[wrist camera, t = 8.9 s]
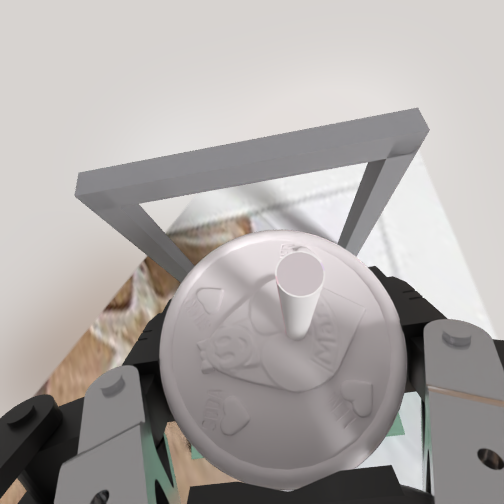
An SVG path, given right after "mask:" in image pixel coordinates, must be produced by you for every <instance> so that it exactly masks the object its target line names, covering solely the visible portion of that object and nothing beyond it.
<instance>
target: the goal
mask: <svg viewBox="0 0 504 504" xmlns="http://www.w3.org/2000/svg"><path fill="white" fill-rule="evenodd" d="M429 130H430V129H429V128H428V126H427V124H426V122H425V120H424V118H423V116H422V115H421V113H420V111H419V109H418V108H414V109H409V110H403V111H398V112H393V113H388V114H382V115H377V116H372V117H367V118H362V119H356V120H351V121H346V122H341V123H336V124H330V125H325V126H320V127H315V128H309V129H304V130H300V131H294V132H289V133H283V134H278V135H273V136H268V137H263V138H257V139H252V140H248V141H242V142H237V143H231V144H226V145H221V146H216V147H211V148H205V149H200V150H195V151H190V152H184V153H179V154H174V155H169V156H164V157H158V158H153V159H148V160H143V161H138V162H132V163H127V164H122V165H117V166H112V167H106V168H101V169H96V170H91V171H86V172H80V173H79V174H78V179H77V186H76V191H75V197H76V198H78V199H79V200H80V201H81V202H82V203H84V204H85V205H86V206H87V207H89V208H90V209H91V210H92V211H94V212H95V213H96V214H97V215H98V216H100V217H101V218H102V219H103V220H105V221H106V222H107V223H108V224H110V225H111V226H112V227H113V228H114V229H116V230H117V231H118V232H119V233H121V234H122V235H123V236H124V237H126V238H127V239H128V240H129V241H131V242H132V243H133V244H134V245H135V246H137V247H138V248H139V249H140V250H141V251H143V252H144V253H145V254H146V255H148V256H149V257H150V258H151V259H152V260H154V261H155V262H156V263H157V264H159V265H160V266H161V267H162V268H164V269H165V270H166V271H167V272H168V273H170V274H171V275H172V276H173V277H175V278H176V279H177V280H178V281H180V282H181V283H182V281H183V280H184V278H185V277H186V276H187V274H188V273H189V272H190V271H191V270H192V269H193V268H194V265H193V264H192V263H191V261H190V260H189V259H188V258H187V257H186V256H185V255H184V254H183V253H182V252H181V250H180V249H179V248H178V247H177V246H176V245H175V244H174V243H173V242H172V240H171V239H170V238H169V237H168V236H167V235H166V234H165V233H164V232H163V231H162V229H160V227H159V226H158V225H157V224H156V223H155V222H154V221H153V219H152V218H151V217H150V216H149V215H148V214H147V213H146V212H145V211H144V210H143V208H142V207H141V206H140V205H139V203H144V202H150V201H156V200H162V199H167V198H173V197H178V196H184V195H189V194H195V193H200V192H206V191H211V190H217V189H222V188H228V187H233V186H239V185H244V184H250V183H255V182H261V181H266V180H272V179H277V178H283V177H288V176H294V175H299V174H305V173H310V172H316V171H321V170H327V169H332V168H338V167H343V166H349V165H355V164H360V163H366V162H368V164H367V167H366V170H365V172H364V175H363V178H362V180H361V183H360V186H359V188H358V191H357V193H356V196H355V199H354V201H353V204H352V207H351V209H350V212H349V215H348V217H347V220H346V223H345V225H344V228H343V231H342V233H341V236H340V239H339V241H338V244H337V245H339V246H341V247H343V248H344V249H346V250H347V251H349V252H350V253H352V254H353V255H354V256H357V254H358V253H359V251H360V249H361V248H362V246H363V244H364V242H365V241H366V239H367V237H368V235H369V234H370V232H371V230H372V229H373V227H374V225H375V223H376V222H377V220H378V218H379V217H380V215H381V213H382V211H383V210H384V208H385V206H386V204H387V203H388V201H389V199H390V198H391V196H392V194H393V192H394V191H395V189H396V187H397V186H398V184H399V182H400V180H401V179H402V177H403V175H404V173H405V172H406V170H407V168H408V167H409V165H410V163H411V161H412V160H413V158H414V156H415V155H416V153H417V151H418V149H419V148H420V146H421V144H422V142H423V141H424V139H425V137H426V135H427V133H428V132H429ZM404 434H405V433H404V429H403V426H402V423H401V419H400V416H399V413H398V414H397V416H396V419H395V421H394V423H393V425H392V427H391V429H390V430H389V432H388V434H387V435H386V437H387V436H395V435H404ZM191 451H192V459H198V458H204V457H203V456H202V455H201V454H199V452H198V451H197V450H196V449H195V448H194V447H193V446H192V445H191Z"/></svg>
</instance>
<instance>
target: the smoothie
mask: <svg viewBox="0 0 504 504" xmlns="http://www.w3.org/2000/svg"><path fill="white" fill-rule="evenodd" d="M399 320H400V319H399V316H398V313H397V311H396V308H395V306H394V304H393V302H392V300H391V298H390V296H389V295H388V293H387V291H386V290H385V288H384V287H383V285H382V284H381V282H380V281H379V280H378V278H377V277H376V276H375V275H374V274H373V272H372V271H371V270H370V269H369V268H368V267H367V266H366V265H365V264H364V263H363V262H362V261H360V260H359V259H358V258H357V257H356V256H354V255H353V254H352V253H350V252H349V251H347V250H346V249H344V248H343V247H341V246H339V245H337V244H336V243H333V242H331V241H329V240H327V239H325V238H322V237H319V236H317V235H313V234H309V233H305V232H300V231H293V230H266V231H259V232H254V233H250V234H246V235H243V236H241V237H238V238H235V239H233V240H231V241H228V242H226V243H225V244H223V245H221V246H219V247H218V248H216V249H215V250H213V251H212V252H210V253H209V254H208V255H207V256H205V257H204V258H203V259H202V260H201V261H200V262H199V263H197V264H196V265H195V266H194V268H193V269H192V270H191V271H190V272H189V273H188V274H187V276H186V277H185V278H184V280H183V281H182V283H181V284H180V286H179V287H178V289H177V291H176V292H175V294H174V296H173V298H172V300H171V303H170V305H169V308H168V310H167V313H166V316H165V320H164V323H163V328H162V333H161V340H160V354H159V361H160V373H161V380H162V385H163V389H164V393H165V397H166V400H167V403H168V405H169V408H170V410H171V413H172V415H173V417H174V419H175V421H176V423H177V424H178V426H179V428H180V430H181V431H182V433H183V434H184V435H185V437H186V438H187V440H188V441H189V442H190V444H191V445H192V446H193V447H194V448H195V449H196V450H197V451H198V452H199V454H201V455H202V456H203V457H204V458H205V459H206V460H207V461H208V462H209V463H211V464H212V465H214V466H215V467H216V468H218V469H219V470H220V471H222V472H224V473H226V474H227V475H229V476H231V477H233V478H235V479H237V480H240V481H242V482H244V483H247V484H251V485H256V486H261V487H266V488H271V489H275V490H296V489H299V488H301V487H303V486H306V485H308V484H310V483H313V482H315V481H317V480H319V479H322V478H324V477H326V476H329V475H331V474H333V473H336V472H338V471H341V470H351V469H355V468H356V467H358V466H359V465H360V464H361V463H363V462H364V461H365V460H366V459H367V458H368V457H369V456H370V455H371V454H372V453H373V452H374V451H375V450H376V449H377V448H378V447H379V445H380V444H381V442H382V441H383V440H384V438H385V437H386V435H387V434H388V432H389V430H390V429H391V427H392V425H393V423H394V421H395V419H396V416H397V414H398V411H399V409H400V406H401V402H402V399H403V396H404V391H405V385H406V377H407V350H406V343H405V337H404V333H403V331H402V327H401V324H400V321H399Z"/></svg>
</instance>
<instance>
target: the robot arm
mask: <svg viewBox="0 0 504 504" xmlns="http://www.w3.org/2000/svg"><path fill="white" fill-rule="evenodd" d="M368 268H369V269H370V270H371V271H372V272H373V274H374V275H375V276H376V277H377V278H378V280H379V281H380V282H381V284H382V285H383V287H384V288H385V290H386V291H387V293H388V295H389V296H390V298H391V300H392V302H393V304H394V306H395V308H396V311H397V313H398V316H399V319H400V320H399V321H400V324H401V327H402V331H403V333H404V337H405V343H406V350H407V377H406V385H405V391H404V393H407V392H415V391H417V393H418V394H419V396H420V397H421V432H422V470H423V491H422V490H418V489H415V488H412V487H409V486H404V485H400V484H399V481H398V479H397V477H396V474H395V472H394V470H393V467H392V465H388V466H378V467H369V468H360V469H351V470H341V471H338V472H336V473H333V474H331V475H329V476H326V477H324V478H322V479H319V480H317V481H315V482H313V483H310V484H308V485H306V486H303V487H301V488H299V489H296V490H294V491H289V492H286V491H280V490H275V489H271V488H266V487H261V486H256V485H251V484H246V483H242V482H230V483H220V484H211V485H202V486H192V487H190V490H189V496H188V501H187V504H504V340H494V339H492V338H491V336H490V335H489V334H488V333H487V332H485V331H484V330H483V329H481V328H479V327H477V326H475V325H473V324H470V323H467V322H464V321H460V320H453V319H447V318H446V317H445V316H444V315H443V314H442V313H441V312H439V311H438V310H437V309H436V308H435V307H434V306H433V305H432V304H430V303H429V302H428V301H427V300H426V299H425V298H422V296H421V295H420V294H419V293H418V292H417V291H415V289H414V288H412V287H411V286H410V285H409V284H408V283H407V282H405V281H403V280H400V279H398V278H396V277H393V276H392V277H386V276H385V275H384V274H383V273H382V272H381V271H380V270H379V269H378V268H377V267H376V266H372V267H368ZM171 300H172V299H170V300H169V302H168V303H167V305H166V307H165V309H164V310H163V312H162V313H159V314H157V315H156V316H155V317H154V318H153V319H152V320H150V321H149V322H148V324H147V325H146V327H145V329H144V330H143V333H142V334H141V335H140V337H139V338H138V341H137V342H136V343H135V345H134V347H133V348H132V350H131V351H130V353H129V355H128V356H127V358H126V359H125V361H124V363H123V364H122V366H120V367H116V368H114V369H112V370H109V371H108V372H106V373H104V374H103V375H101V376H100V377H99V378H97V379H96V380H95V381H94V382H93V383H92V384H91V385H90V387H89V388H88V390H87V391H86V394H85V397H83V398H80V399H77V400H75V401H72V402H69V403H67V404H64V405H62V406H59V407H58V405H57V403H56V402H55V400H54V398H53V397H52V396H51V395H39V396H35V397H33V398H30V399H28V400H26V401H24V402H22V403H20V404H19V405H17V406H15V407H14V408H12V409H11V410H10V411H9V412H7V413H6V414H5V415H4V416H2V418H0V498H1V497H2V496H3V495H4V493H5V492H6V491H7V490H8V488H9V487H10V486H11V485H12V483H13V482H14V481H15V480H16V478H18V480H19V481H20V482H21V484H22V485H23V486H24V488H25V489H26V490H27V492H26V493H25V494H24V496H23V497H22V498H21V500H20V501H19V502H18V504H181V501H180V497H179V493H178V488H177V483H176V479H175V474H174V469H173V464H172V460H171V455H170V450H169V446H168V441H167V437H166V435H165V433H164V431H165V428H166V425H167V422H172V421H175V419H174V417H173V415H172V413H171V410H170V408H169V405H168V403H167V400H166V397H165V393H164V389H163V385H162V380H161V373H160V361H159V354H160V340H161V333H162V328H163V323H164V320H165V316H166V313H167V310H168V308H169V305H170V303H171Z"/></svg>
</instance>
